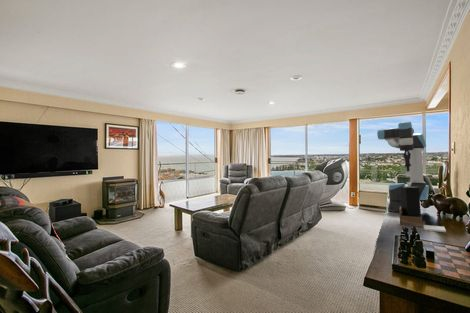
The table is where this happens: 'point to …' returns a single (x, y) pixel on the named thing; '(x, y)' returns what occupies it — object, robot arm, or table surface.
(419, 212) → the black tall block
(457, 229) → the table surface
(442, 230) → the felt mat
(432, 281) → the table surface
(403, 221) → the book bay
